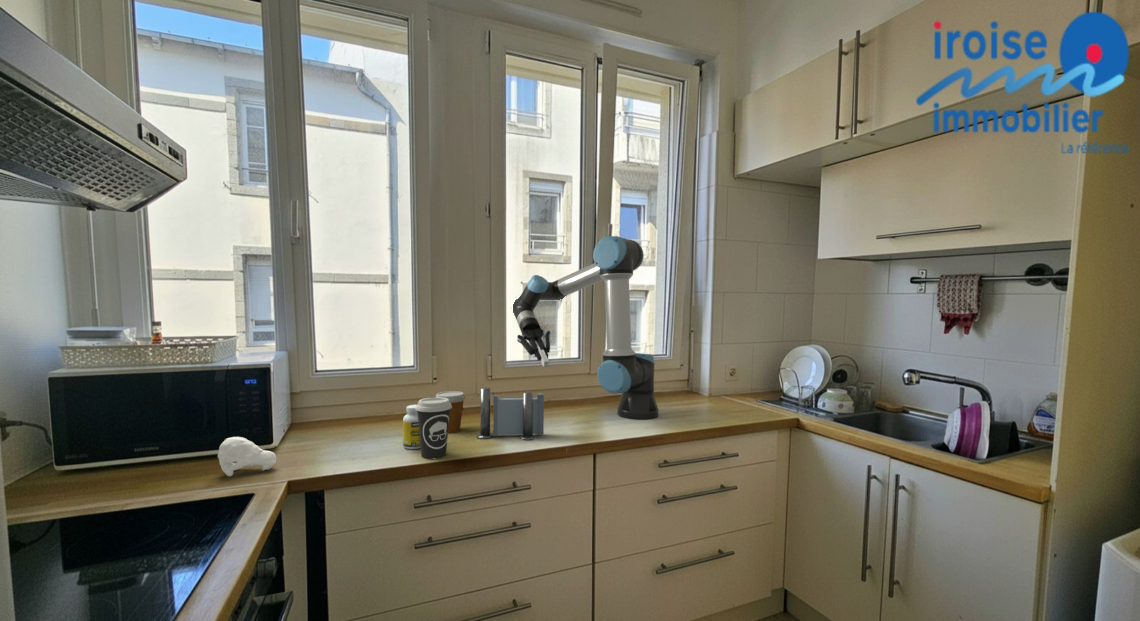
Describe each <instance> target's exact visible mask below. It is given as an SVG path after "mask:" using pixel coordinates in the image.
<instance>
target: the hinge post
mask: <svg viewBox="0 0 1140 621" xmlns="http://www.w3.org/2000/svg"><path fill="white" fill-rule="evenodd" d="M479 412H480V415H479V416H480V417H479V418H480V431H479V432H480V433H477V434H476V438H478V439H479V438H480V439H479V440H488V439H487V438H490V439H493V438H494V437H495V435H493V432H492V433H491V387H481V388H480V411H479ZM492 437H493V438H492Z"/></svg>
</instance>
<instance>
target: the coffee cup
mask: <svg viewBox="0 0 1140 621" xmlns="http://www.w3.org/2000/svg"><path fill="white" fill-rule="evenodd" d="M416 405H417V406H416V410H417V413H418V423H419V434H420V446H421V448H420V455H421V458H423V459H426V458H427V459H426V460H434V459H433V458H436V459H440V457H441V458H443V457H445V456H446V455H447V447H448V436H449V433H448V426H449V415H450V409H451V408H452V405H451V403H450V402H449V399H447V398H442V397H436V396H434V397H425V398H421V399H419V400H418V402H417V404H416ZM442 456H443V457H442Z"/></svg>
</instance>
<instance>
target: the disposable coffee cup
mask: <svg viewBox="0 0 1140 621" xmlns="http://www.w3.org/2000/svg"><path fill="white" fill-rule="evenodd" d="M435 397H442V398H447V399H449V402H450V403H451V405H452V408H451V409H450V415H449V426H448V434H454V433H457V432H460V430H461V425H462V419H463V418H462V416H463V408H464V401H465V399H466V396H465V393H464V392H462V391H459V390H458V391H457V390H453V391H452V390H448V391H440V392H438V393H436V394H435Z"/></svg>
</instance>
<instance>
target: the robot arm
mask: <svg viewBox="0 0 1140 621" xmlns="http://www.w3.org/2000/svg"><path fill="white" fill-rule="evenodd" d="M644 254H645V253H644V249H643V248H642V245H640V244H639V243H638V242H637V241H635V240H632V239H630V238H629V239H628V238H623V237H621V236H617V235H616V236H615V235H607V236H605V237H602V238H601V239H600V240H599V241H598V242H597V243H596V244H595V246H594V250H593V254H592V257H593V262H594V263H592V264H589V265H587V266H585V267H582V268H580V269H578V270H576V271H573V272H572V273H569V274H567V275H565V276H562V277H561V278H559V279H556V280H555V281H548V280H547V279H546V278H545V277H543V276H541V275H538V274H534V275H532V276H531V278H530V279H529V280H528V282H527V284H526V285H525V287H524V289H523V291H522V292H521V294H520V295H519V296H520V297H519V298H518V299H516V300H515V302H514V304H513V312H512V314H513V313H514V314H513V315H514V318H515V320H516V323H517V324H518V327H519V329H520V333H521V334H518V335H517V342H518V343H520V344H521V346H522V347H523V348H524V349H525V350H526V352H527V353H528V354H529V355H530V356H533V355H534V357H535V358H536V359H537V361H540V363H541V365H542V367H543V368H548V367H549V353H550V352H551V342H550V338H551V337H550V336H551V331H550V330H547V331H544V330H543V329H542V328H541V325H540V323H539V321H538V318H537V317H536V315H535V313H534V311H535V308H536V307H537V305H538V304H539V302H540V301H554V300H559V301H561V300H560V299H563V298H564V297H565V296H566V297H567V296H569V295H572V294H574V293H576V292H578V291H581V290H584V289H585V288H588V287H591V286H593V285H595V284H597V283H601V282H603V281H604V303H605V304H604V305H605V308H604V310H605V331H606V332H605V335H606V350H605V351H604V352H603V353H602V363H601V364H600V366H598V368H597V373H596V374H597V380H598V383H599V385H600V386H601V387H602V388H603V390H605V391H606V392H608V393H609V394H613V395H614V394H615V395H617V394H621V396H620V399H619V403H618V406H617V412H616V413H617V415H618V416H620V417H621V418H626V419H630V420H651V419H655V418H657V417H659V407H658V405H657V401H656V400H657V399H656V397H655V391H654V390H655V358H654V355H653V354H651V353H639V352H636V351H634V350H633V349H632V331H631V330H632V327H631V326H632V325H631V303H630V302H631V300H630V297H631V296H630V279H631V278H632V277H633V276H634V271H636V270H637V269H638V268H639V267H641V265H642V264H643V260H644ZM563 300H564V299H563ZM542 337H544V340H545V341H543V339H542ZM544 342H545V343H544Z"/></svg>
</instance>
